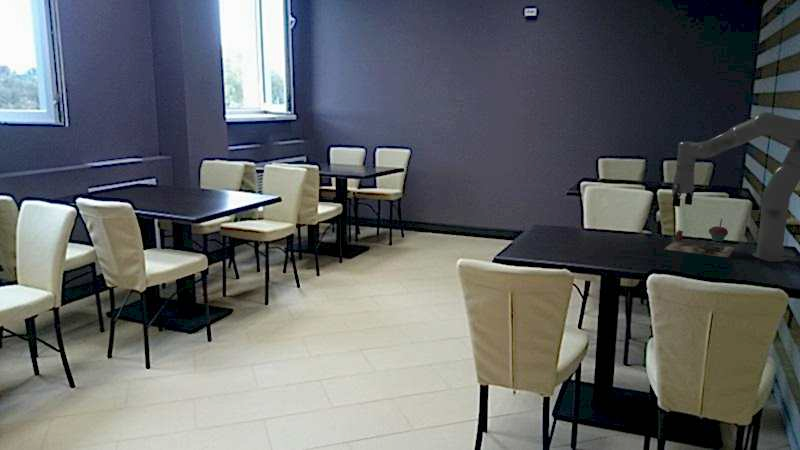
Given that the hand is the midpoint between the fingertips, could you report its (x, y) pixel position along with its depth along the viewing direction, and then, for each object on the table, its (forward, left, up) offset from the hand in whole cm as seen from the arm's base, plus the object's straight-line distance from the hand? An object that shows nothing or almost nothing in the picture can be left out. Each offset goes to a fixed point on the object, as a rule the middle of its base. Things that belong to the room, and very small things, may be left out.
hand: (682, 205), depth 281 cm
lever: (-9, +2, -18) cm, 20 cm away
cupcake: (-13, -27, -20) cm, 36 cm away
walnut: (-13, +10, -19) cm, 25 cm away
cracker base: (-10, +3, -20) cm, 22 cm away
